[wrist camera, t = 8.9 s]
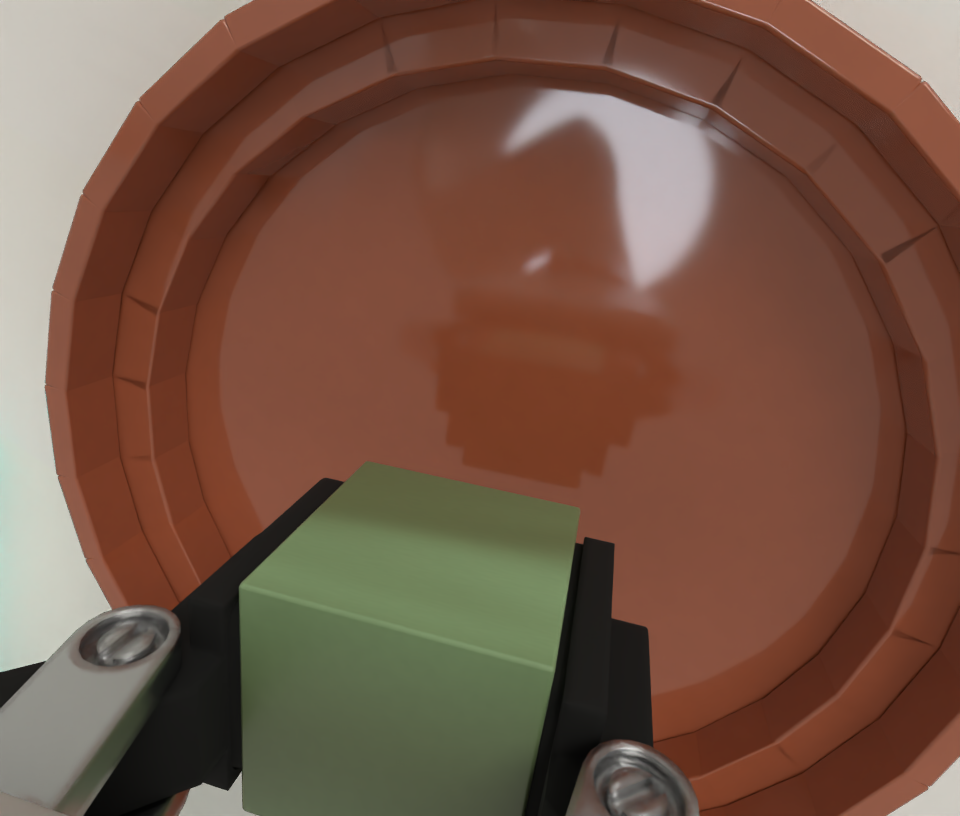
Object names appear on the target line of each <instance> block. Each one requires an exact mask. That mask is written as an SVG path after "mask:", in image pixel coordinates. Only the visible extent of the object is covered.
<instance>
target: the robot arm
mask: <svg viewBox="0 0 960 816" xmlns="http://www.w3.org/2000/svg"><path fill="white" fill-rule="evenodd" d="M343 483H344V482H343V481H339V480H334V479H330V478H323V479H321V480H320V481H319V482H318V483H316V484H315V485H314V486H313V487H312V488H311V489H310V490H309V491H307V492H306V493H305V494H304V495H303V496H302V497H301V498H300V499H298V500H297V501H296V502H295V503H294V504H293V505H292V506H291V507H290V508H288V509H287V510H286V511H285V512H284V513H283V514H282V515H281V516H279V517H278V518H277V519H276V520H275V521H274V522H273V523H272V524H270V525H269V526H268V527H267V528H266V529H265V530H264V531H263V532H261V533H259V534H258V535H256V536H255V537H254V538H253V539H252V540H250V541H249V542H248V543H247V544H246V545H245V546H244V547H243V548H241V549H240V550H239V551H238V552H237V553H236V554H235V555H233V556H232V557H231V558H230V559H229V560H228V561H227V562H226V563H224V564H223V565H222V566H221V567H220V568H219V569H218V570H217V571H215V572H214V573H213V574H212V575H211V576H210V577H209V578H208V579H206V580H205V581H204V582H203V583H202V584H201V585H200V586H198V587H197V588H196V589H195V590H194V591H193V592H192V593H191V594H189V595H188V596H187V597H186V598H185V599H184V600H183V601H182V602H180V603H179V604H178V605H177V606H176V607H175V608H174V609H172V610H171V611H170V610H168V609H166V608H163V607H159V606H155V605H131V606H125V607H120V608H117V609H114V610H110V611H107V612H104V613H102V614H100V615H98V616H96V617H95V618H93V619H91V620H89V621H87V622H86V623H85V624H84V625H82V626H81V627H80V628H79V629H77V630H76V631H75V632H74V633H73V634H72V635H71V636H70V637H69V638H68V639H67V640H66V641H65V642H64V644H63V645H62V646H61V647H60V648H59V649H58V650H57V651H56V652H55V653H54V654H53V655H52V656H51V657H50V658H49V659H48V660H47V661H44V662H40V663H36V664H32V665H28V666H24V667H20V668H16V669H12V670H8V671H4V672H0V816H179V814H180V812H181V810H182V808H183V806H184V804H185V802H186V799H187V796H188V793H189V791H190V789H191V788H193V787H196V786H198V785H201V784H202V783H206V784H209V785H212V786H215V787H218V788H221V789H224V790H227V791H228V790H229V789H230V787H231V786H232V784H233V783H234V781H235V780H236V779H237V777H238V776H239V774H240V773H241V771H242V743H241V685H240V626H239V586H240V584H241V583H242V582H243V581H244V580H245V579H246V578H247V577H248V576H249V575H250V574H251V573H252V572H253V571H254V570H255V569H256V568H257V567H258V566H259V565H260V564H261V563H262V562H263V561H264V560H265V559H266V558H267V557H268V556H269V555H270V554H271V553H272V552H273V551H274V550H275V549H276V548H277V547H278V546H280V545H281V544H282V543H283V542H284V541H285V540H286V539H287V538H288V537H289V536H290V535H291V534H292V533H293V532H294V531H295V530H296V529H297V528H298V527H299V526H300V525H301V524H302V523H303V522H304V521H305V520H306V519H307V518H308V517H309V516H310V515H311V514H312V513H313V512H314V511H315V510H316V509H317V508H319V507H320V506H321V505H322V504H323V503H324V502H325V501H326V500H327V499H328V498H329V497H330V496H331V495H332V494H333V493H334V492H335V491H336V490H337V489H338V488H339V487H340V486H341V485H342V484H343ZM614 550H615V544H614V543H611V542H606V541H602V540H597V539H593V538H589V537H585V538H584V542H583V544H579V543H575V549H574V555H573V562H572V568H571V574H570V581H569V587H568V593H567V599H566V606H565V612H564V618H563V625H562V631H561V637H560V644H559V650H558V656H557V663H556V669H555V674H554V679H553V684H552V688H551V693H550V698H549V703H548V707H547V712H546V716H545V720H544V725H543V730H542V735H541V739H540V744H539V749H538V754H537V758H536V763H535V768H534V773H533V778H532V782H531V787H530V792H529V797H528V801H527V806H526V811H525V816H699V806H698V799H697V797H696V794H695V792H694V789H693V787H692V784H691V782H690V781H689V780H688V778H687V777H686V776H685V774H684V773H683V772H682V770H681V769H680V768H679V767H678V766H677V765H676V764H675V763H674V762H673V761H672V760H670V759H669V758H668V757H667V756H666V755H665V754H663V753H661V752H659V751H658V750H656V749H654V747H653V724H652V701H651V678H650V655H649V634H648V629H647V627H645V626H641V625H637V624H633V623H629V622H625V621H621V620H617V619H613V618H611V617H612V595H613V573H614Z"/></svg>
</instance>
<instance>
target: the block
mask: <svg viewBox="0 0 960 816" xmlns="http://www.w3.org/2000/svg"><path fill="white" fill-rule="evenodd" d="M579 517H580V508H578V507H574V506H570V505H565V504H561V503H556V502H551V501H547V500H542V499H538V498H533V497H529V496H524V495H520V494H515V493H511V492H506V491H501V490H497V489H492V488H488V487H483V486H479V485H474V484H470V483H465V482H461V481H456V480H451V479H447V478H442V477H438V476H433V475H429V474H424V473H420V472H415V471H411V470H406V469H402V468H397V467H392V466H388V465H383V464H379V463H374V462H370V461H366V462H365V463H364V464H363V465H362V466H361V467H360V468H359V469H358V470H357V471H355V472H354V473H353V474H352V475H351V476H350V477H349V478H348V479H347V480H346V481H345V482H344V483H343V484H342V485H341V486H340V487H339V488H338V489H337V490H336V491H335V492H334V493H333V494H332V495H331V496H330V497H329V498H328V499H327V500H326V501H325V502H324V503H323V504H322V505H321V506H320V507H319V508H317V509H316V510H315V511H314V512H313V513H312V514H311V515H310V516H309V517H308V518H307V519H306V520H305V521H304V522H303V523H302V524H301V525H300V526H299V527H298V528H297V529H296V530H295V531H294V532H293V533H292V534H291V535H290V536H289V537H288V538H287V539H286V540H285V541H284V542H283V543H282V544H281V545H280V546H278V547H277V548H276V549H275V550H274V551H273V552H272V553H271V554H270V555H269V556H268V557H267V558H266V559H265V560H264V561H263V562H262V563H261V564H260V565H259V566H258V567H257V568H256V569H255V570H254V571H253V572H252V573H251V574H250V575H249V576H248V577H247V578H246V579H245V580H244V581H243V582H242V583H241V584H240V586H239V626H240V685H241V743H242V802H243V809H244V810H245V811H247V812H250V813H253V814H256V815H259V816H525V811H526V806H527V801H528V797H529V792H530V787H531V782H532V778H533V773H534V768H535V763H536V758H537V754H538V749H539V744H540V739H541V735H542V730H543V725H544V720H545V716H546V712H547V707H548V703H549V698H550V693H551V688H552V684H553V679H554V674H555V669H556V663H557V656H558V650H559V644H560V637H561V631H562V625H563V618H564V612H565V606H566V599H567V593H568V587H569V581H570V574H571V568H572V562H573V555H574V549H575V543H576V536H577V530H578V524H579Z"/></svg>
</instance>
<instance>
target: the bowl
mask: <svg viewBox="0 0 960 816" xmlns="http://www.w3.org/2000/svg"><path fill="white" fill-rule="evenodd" d="M921 80H922V78H921V76H920V75H918V74H917V73H915V72H914V71H913V70H911V69H910V68H908V67H907V66H905V65H904V64H903V63H901V62H900V61H898V60H897V59H895V58H894V57H892V56H891V55H890V54H888V53H887V52H885V51H884V50H882V49H881V48H880V47H878V46H877V45H875V44H874V43H872V42H871V41H870V40H868V39H867V38H865V37H864V36H862V35H861V34H859V33H858V32H857V31H855V30H854V29H852V28H851V27H849V26H848V25H847V24H845V23H844V22H842V21H841V20H839V19H838V18H836V17H835V16H834V15H832V14H831V13H829V12H828V11H826V10H825V9H824V8H822V7H821V6H819V5H818V4H816V3H815V2H813V1H812V0H253V1H252V2H250V3H248V4H246V5H244V6H242V7H240V8H239V9H237V10H235V11H233V12H231V13H229V14H227V15H226V16H225V17H224V19H222V20H220V21H219V22H218V23H217V24H216V25H215V26H214V27H213V28H212V29H211V30H210V31H208V32H207V33H206V34H205V35H204V36H203V37H202V38H201V39H200V40H199V41H198V42H197V43H196V44H195V45H194V46H193V47H192V48H191V49H190V50H189V51H188V52H187V53H186V54H185V55H184V56H183V57H181V58H180V59H179V60H178V61H177V62H176V63H175V64H174V65H173V66H172V67H171V68H170V69H169V70H168V71H167V72H166V73H165V74H164V75H163V76H162V77H161V78H160V79H159V80H158V81H157V82H156V83H154V84H153V85H152V86H151V87H150V88H149V89H148V90H147V91H146V92H145V93H144V94H143V95H142V96H141V97H140V99H139V101H137V102H136V103H135V105H134V106H133V108H132V110H131V111H130V113H129V114H128V116H127V118H126V119H125V121H124V123H123V124H122V126H121V128H120V129H119V131H118V133H117V134H116V136H115V138H114V139H113V141H112V143H111V144H110V146H109V148H108V149H107V151H106V153H105V154H104V156H103V158H102V159H101V161H100V163H99V164H98V166H97V168H96V169H95V171H94V172H93V174H92V176H91V177H90V179H89V181H88V182H87V184H86V186H85V187H84V189H83V194H82V195H81V196H80V199H79V202H78V205H77V209H76V212H75V215H74V218H73V222H72V225H71V228H70V231H69V235H68V238H67V241H66V244H65V248H64V251H63V254H62V257H61V261H60V264H59V267H58V270H57V274H56V277H55V280H54V283H53V291H52V293H51V305H50V319H49V333H48V347H47V361H46V375H45V384H46V385H45V394H46V401H47V408H48V416H49V423H50V430H51V438H52V445H53V452H54V460H55V467H56V474H57V475H59V476H58V480H59V483H60V486H61V489H62V492H63V495H64V498H65V501H66V504H67V507H68V510H69V513H70V516H71V519H72V521H73V524H74V527H75V530H76V533H77V536H78V539H79V542H80V545H81V548H82V551H83V554H84V557H85V558H86V562H87V564H88V566H89V568H90V570H91V571H92V573H93V575H94V577H95V579H96V581H97V583H98V584H99V586H100V588H101V590H102V592H103V594H104V595H105V597H106V599H107V601H108V603H109V605H110V607H111V608H112V610H114V609H117V608H120V607H125V606H131V605H155V606H159V607H163V608H166V609H168V610H170V611H171V610H172V609H174V608H175V607H176V606H177V605H178V604H179V603H180V602H182V601H183V600H184V599H185V598H186V597H187V596H188V595H189V594H191V593H192V592H193V591H194V590H195V589H196V588H197V587H198V586H200V585H201V584H202V583H203V582H204V581H205V580H206V579H208V578H209V577H210V576H211V575H212V574H213V573H214V572H215V571H217V570H218V569H219V568H220V567H221V566H222V565H223V564H224V563H226V562H227V561H228V560H229V559H230V558H231V557H232V556H233V555H235V554H236V553H237V552H238V551H239V550H240V549H241V548H243V547H244V546H245V545H246V544H247V543H248V542H249V541H250V540H252V539H253V538H254V537H255V536H256V535H258V534H259V533H261V532H263V531H264V530H265V529H266V528H267V527H268V526H269V525H270V524H272V523H273V522H274V521H275V520H276V519H277V518H278V517H279V516H281V515H282V514H283V513H284V512H285V511H286V510H287V509H288V508H290V507H291V506H292V505H293V504H294V503H295V502H296V501H297V500H298V499H300V498H301V497H302V496H303V495H304V494H305V493H306V492H307V491H309V490H310V489H311V488H312V487H313V486H314V485H315V484H316V483H318V482H319V481H320V480H321V479H323V478H330V479H334V480H339V481H343V482H345V481H346V480H347V479H348V478H349V477H350V476H351V475H352V474H353V473H354V472H355V471H357V470H358V469H359V468H360V467H361V466H362V465H363V464H364V463H365V462H366V461H370V462H374V463H379V464H383V465H388V466H392V467H397V468H402V469H406V470H411V471H415V472H420V473H424V474H429V475H433V476H438V477H442V478H447V479H451V480H456V481H461V482H465V483H470V484H474V485H479V486H483V487H488V488H492V489H497V490H501V491H506V492H511V493H515V494H520V495H524V496H529V497H533V498H538V499H542V500H547V501H551V502H556V503H561V504H565V505H570V506H574V507H578V508H580V517H579V524H578V530H577V536H576V543H579V544H583V542H584V538H585V537H589V538H593V539H597V540H602V541H606V542H611V543H614V544H615V550H614V573H613V595H612V617H611V618H613V619H617V620H621V621H625V622H629V623H633V624H637V625H641V626H645V627H647V629H648V634H649V655H650V678H651V701H652V724H653V747H654V749H656V750H658V751H659V752H661V753H663V754H665V755H666V756H667V757H668V758H669V759H670V760H672V761H673V762H674V763H675V764H676V765H677V766H678V767H679V768H680V769H681V770H682V772H683V773H684V774H685V776H686V777H687V778H688V780H689V781H690V782H691V784H692V787H693V789H694V792H695V794H696V797H697V799H698V806H699V816H887V815H888V814H890V813H892V812H893V811H895V810H896V809H898V808H900V807H901V806H903V805H904V804H906V803H908V802H909V801H911V800H912V799H914V798H915V797H917V796H919V795H920V794H922V793H923V792H925V791H927V790H928V787H930V786H932V785H933V784H934V783H935V782H936V781H937V780H938V779H939V778H940V776H941V775H942V774H943V773H944V772H945V771H946V770H947V769H948V768H949V767H950V766H951V765H952V764H953V763H954V762H955V761H956V760H957V759H958V758H959V757H960V122H959V121H958V120H957V119H956V117H955V116H954V115H953V114H952V113H951V111H950V110H949V109H948V108H947V106H946V105H945V104H944V103H943V101H942V100H941V99H940V98H939V96H938V95H937V94H936V93H935V91H934V90H933V89H932V88H931V86H930V85H929V84H928V83H927V82H925V81H923V82H921Z"/></svg>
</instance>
